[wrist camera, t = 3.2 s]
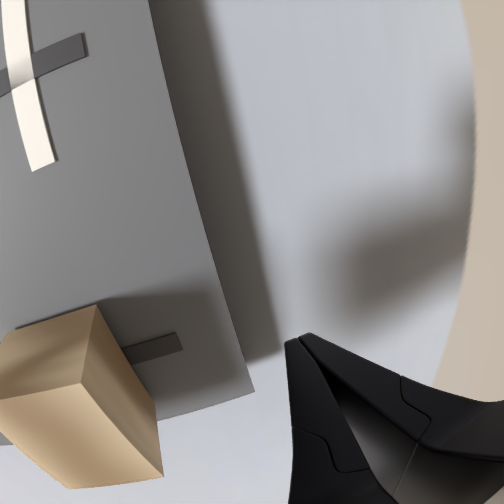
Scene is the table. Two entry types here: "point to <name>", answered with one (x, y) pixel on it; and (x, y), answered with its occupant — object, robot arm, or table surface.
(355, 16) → the table surface
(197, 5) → the table surface
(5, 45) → the fader panel
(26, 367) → the oak fader
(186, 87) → the table surface
